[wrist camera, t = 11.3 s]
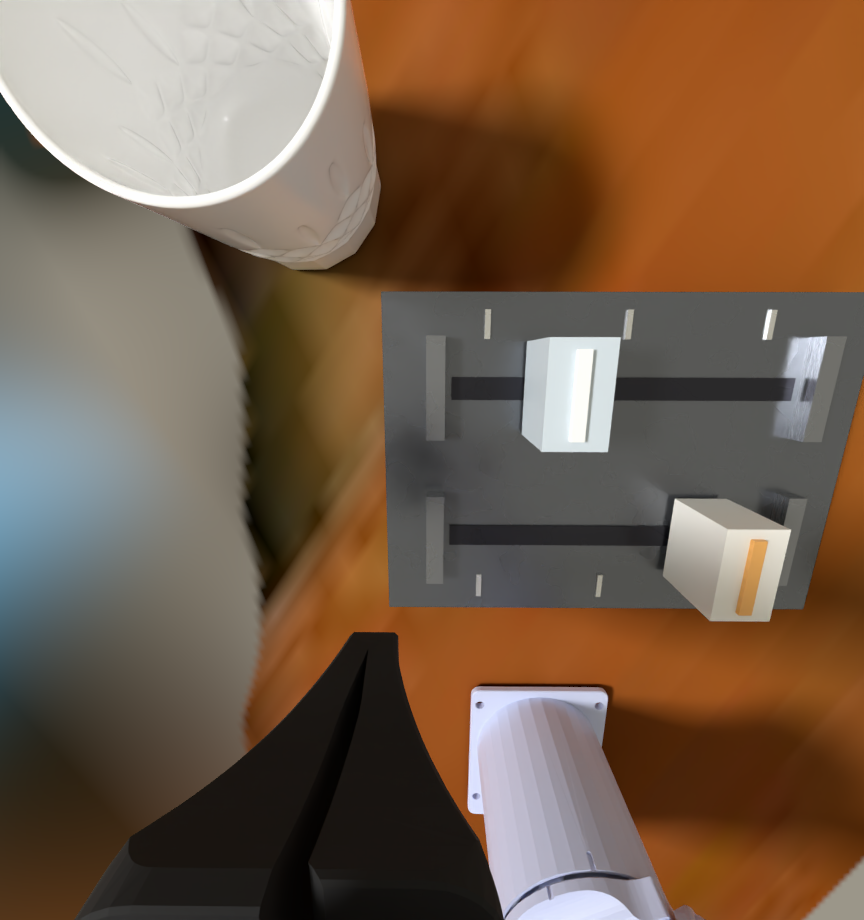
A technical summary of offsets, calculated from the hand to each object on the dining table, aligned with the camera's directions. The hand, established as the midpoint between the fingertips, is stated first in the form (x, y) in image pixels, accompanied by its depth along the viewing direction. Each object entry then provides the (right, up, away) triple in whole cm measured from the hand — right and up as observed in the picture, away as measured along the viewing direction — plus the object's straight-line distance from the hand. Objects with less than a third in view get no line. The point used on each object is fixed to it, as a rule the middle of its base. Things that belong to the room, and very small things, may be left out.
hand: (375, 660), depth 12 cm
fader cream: (+14, +2, +7) cm, 16 cm away
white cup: (-4, +18, +6) cm, 19 cm away
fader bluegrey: (+7, +9, +6) cm, 13 cm away
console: (+10, +6, +9) cm, 15 cm away
